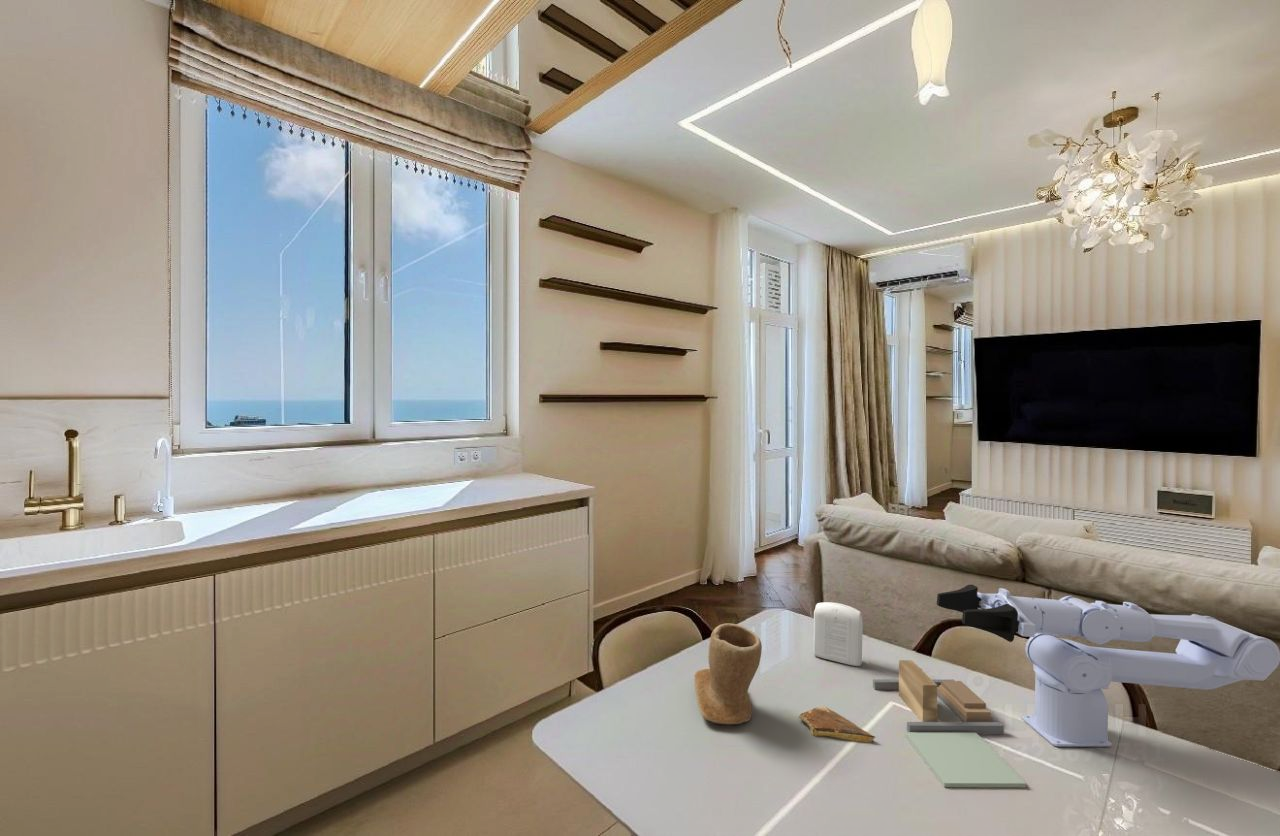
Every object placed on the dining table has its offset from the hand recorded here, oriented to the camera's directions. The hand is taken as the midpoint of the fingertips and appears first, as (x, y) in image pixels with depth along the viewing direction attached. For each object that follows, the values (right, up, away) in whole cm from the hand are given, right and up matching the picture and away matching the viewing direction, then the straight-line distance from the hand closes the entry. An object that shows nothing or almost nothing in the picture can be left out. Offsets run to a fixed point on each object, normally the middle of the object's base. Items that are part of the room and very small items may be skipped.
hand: (950, 608), depth 91 cm
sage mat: (-2, -22, -6) cm, 23 cm away
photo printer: (-9, -21, +27) cm, 35 cm away
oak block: (-2, -22, +8) cm, 23 cm away
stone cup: (-37, -22, +9) cm, 44 cm away
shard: (-19, -23, +3) cm, 29 cm away
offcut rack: (+1, -21, +8) cm, 23 cm away
